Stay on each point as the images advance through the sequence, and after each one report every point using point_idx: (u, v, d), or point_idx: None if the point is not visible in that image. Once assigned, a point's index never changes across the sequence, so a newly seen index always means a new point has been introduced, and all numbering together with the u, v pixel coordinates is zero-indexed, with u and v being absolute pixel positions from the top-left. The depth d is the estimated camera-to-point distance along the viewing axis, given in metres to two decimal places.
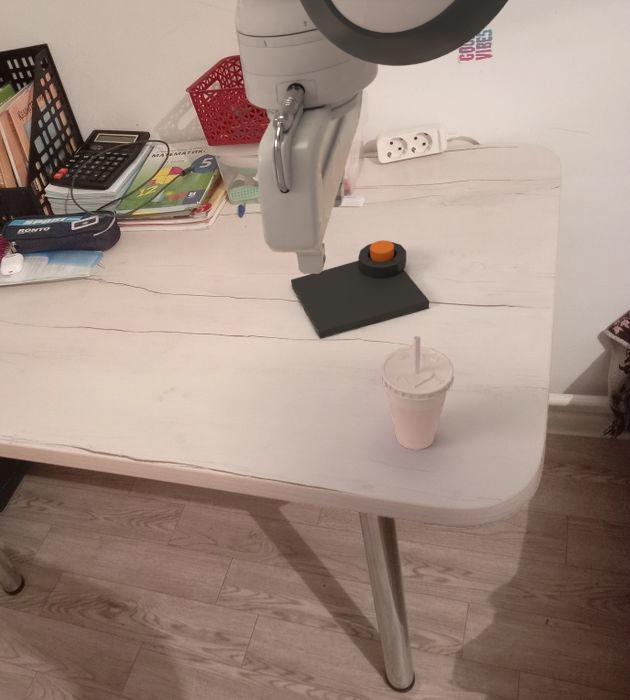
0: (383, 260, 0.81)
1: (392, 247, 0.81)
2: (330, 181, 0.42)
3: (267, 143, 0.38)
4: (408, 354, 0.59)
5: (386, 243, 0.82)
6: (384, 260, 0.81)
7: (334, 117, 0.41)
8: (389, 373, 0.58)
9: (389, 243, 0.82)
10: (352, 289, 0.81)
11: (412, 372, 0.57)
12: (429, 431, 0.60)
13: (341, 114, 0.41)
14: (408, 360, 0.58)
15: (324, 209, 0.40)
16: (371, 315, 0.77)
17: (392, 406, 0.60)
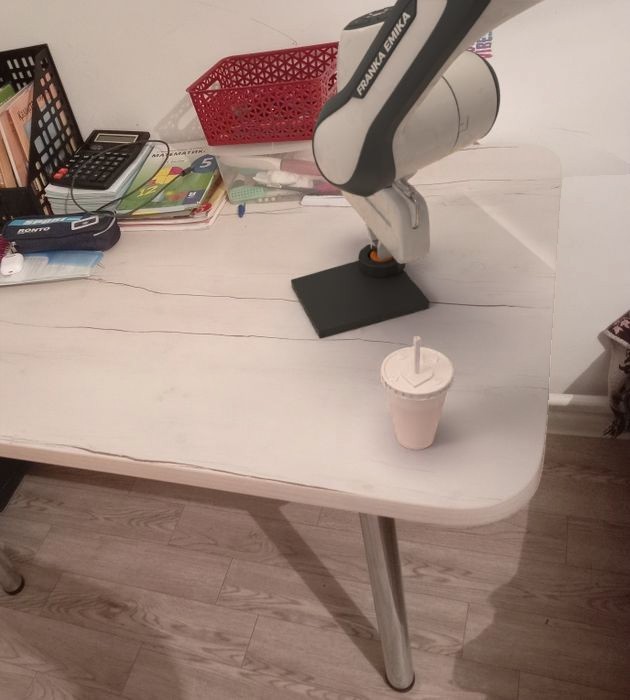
0: None
1: None
2: None
3: (400, 205, 0.68)
4: (408, 354, 0.59)
5: None
6: None
7: None
8: (389, 373, 0.58)
9: None
10: (352, 289, 0.81)
11: (412, 372, 0.57)
12: (429, 431, 0.60)
13: None
14: (408, 360, 0.58)
15: None
16: (371, 315, 0.77)
17: (392, 406, 0.60)
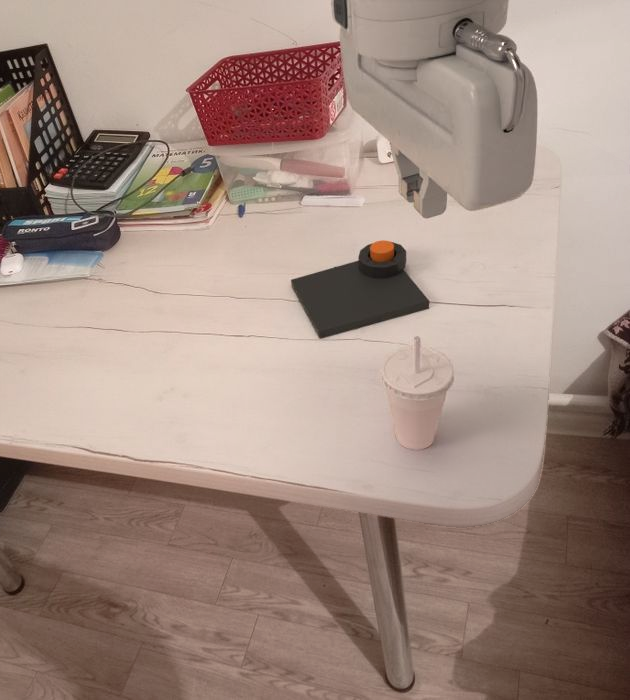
0: (383, 260, 0.81)
1: (392, 247, 0.81)
2: None
3: (477, 81, 0.33)
4: (408, 354, 0.59)
5: (386, 243, 0.82)
6: (384, 260, 0.81)
7: None
8: (389, 373, 0.58)
9: (389, 243, 0.82)
10: (352, 289, 0.81)
11: (412, 372, 0.57)
12: (429, 431, 0.60)
13: None
14: (408, 360, 0.58)
15: None
16: (371, 315, 0.77)
17: (392, 406, 0.60)
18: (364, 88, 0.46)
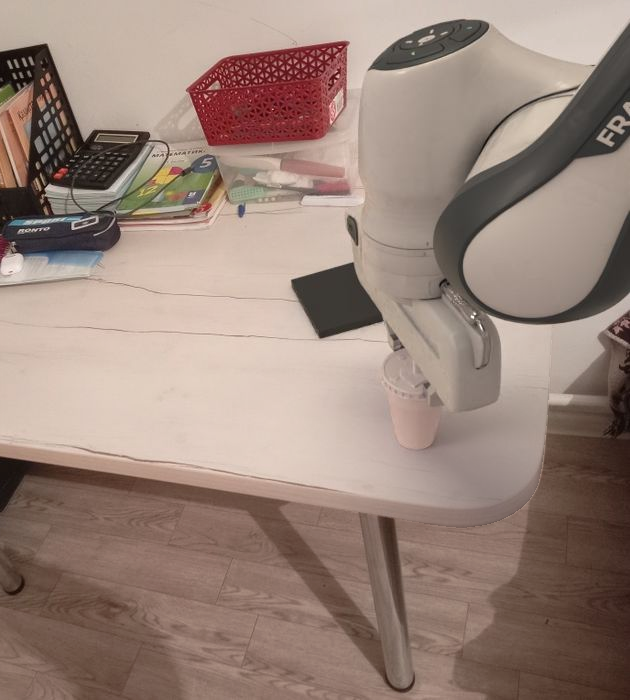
0: None
1: None
2: None
3: (456, 333, 0.44)
4: (408, 354, 0.59)
5: None
6: None
7: None
8: (389, 373, 0.58)
9: None
10: (352, 289, 0.81)
11: (412, 372, 0.57)
12: (429, 431, 0.60)
13: None
14: (408, 360, 0.58)
15: None
16: (371, 315, 0.77)
17: (392, 406, 0.60)
18: None
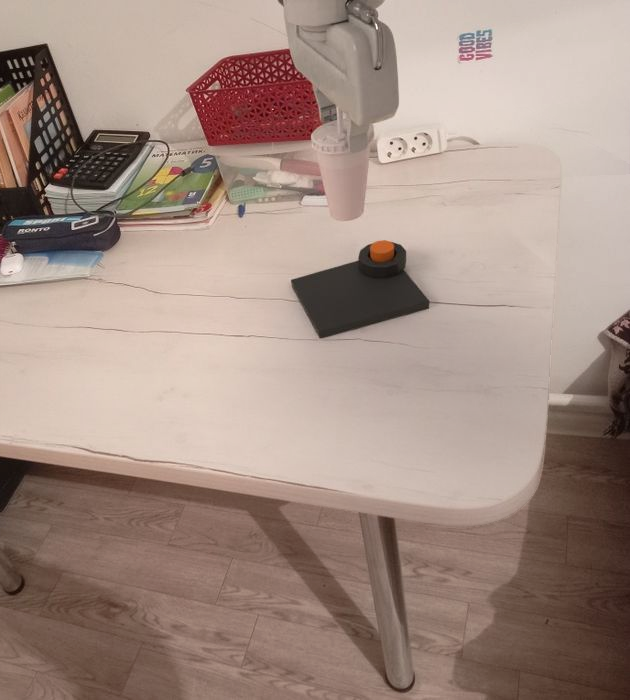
0: (383, 260, 0.81)
1: (392, 247, 0.81)
2: None
3: (356, 36, 0.51)
4: (336, 124, 0.66)
5: (386, 243, 0.82)
6: (384, 260, 0.81)
7: None
8: (318, 136, 0.65)
9: (389, 243, 0.82)
10: (352, 289, 0.81)
11: (337, 132, 0.64)
12: (356, 196, 0.67)
13: None
14: (335, 127, 0.65)
15: None
16: (371, 315, 0.77)
17: (322, 172, 0.66)
18: (301, 51, 0.64)
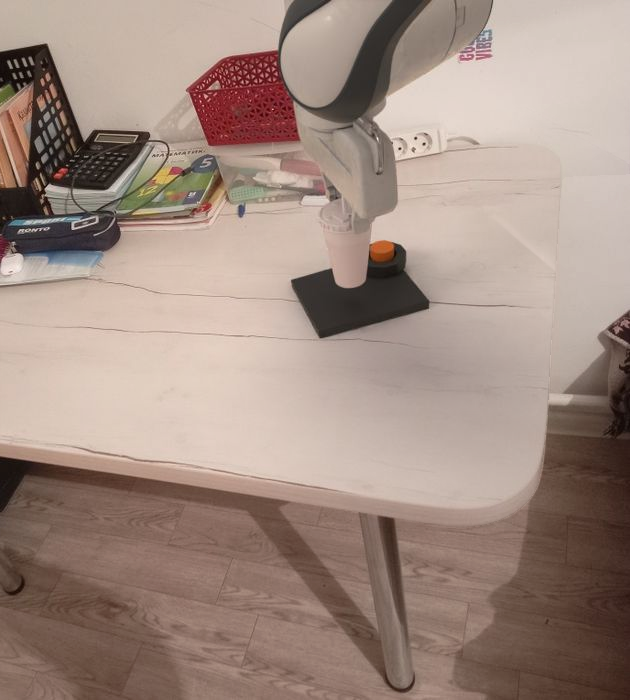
0: (383, 260, 0.81)
1: (392, 247, 0.81)
2: None
3: (360, 145, 0.57)
4: (341, 202, 0.72)
5: (386, 243, 0.82)
6: (384, 260, 0.81)
7: None
8: (324, 215, 0.71)
9: (389, 243, 0.82)
10: (352, 289, 0.81)
11: (342, 212, 0.70)
12: (359, 267, 0.73)
13: None
14: (340, 206, 0.71)
15: None
16: (371, 315, 0.77)
17: (328, 246, 0.73)
18: (309, 137, 0.71)
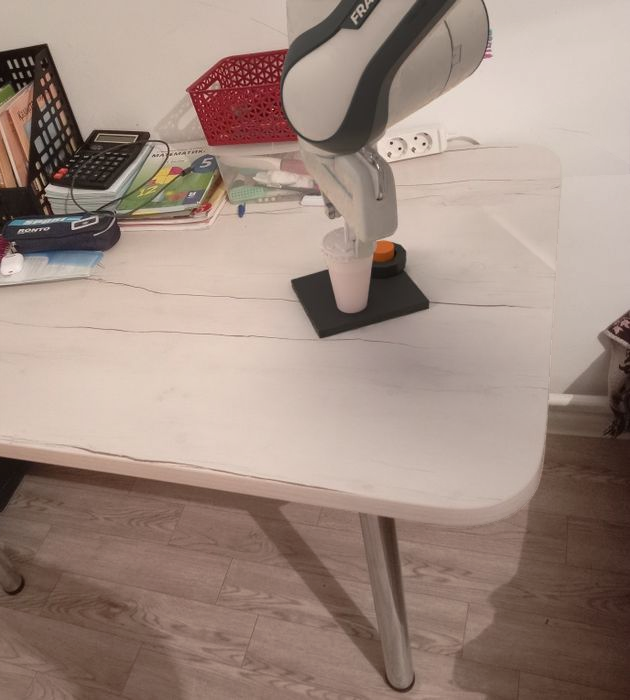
0: (383, 260, 0.81)
1: (392, 247, 0.81)
2: None
3: (361, 172, 0.59)
4: (343, 231, 0.75)
5: (386, 243, 0.82)
6: (384, 260, 0.81)
7: None
8: (327, 244, 0.74)
9: (389, 243, 0.82)
10: None
11: (344, 242, 0.73)
12: (360, 294, 0.76)
13: None
14: (342, 235, 0.74)
15: None
16: (371, 315, 0.77)
17: (331, 273, 0.75)
18: (311, 159, 0.72)
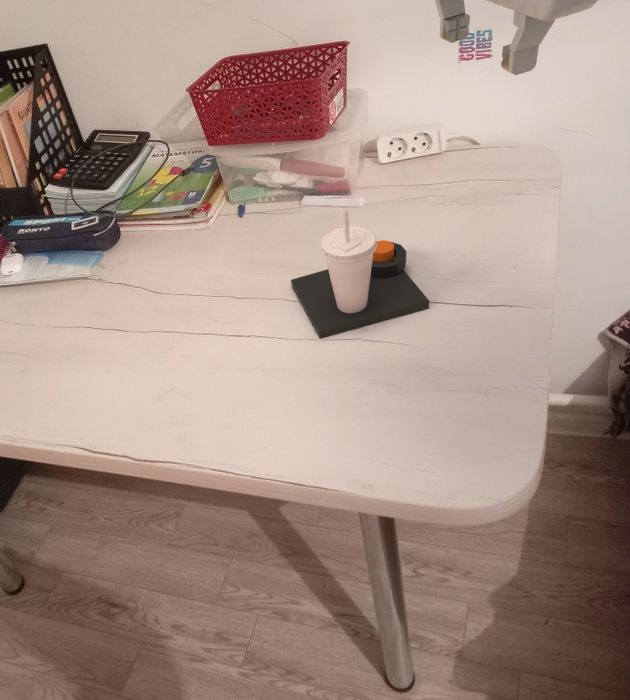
0: (383, 260, 0.81)
1: (392, 247, 0.81)
2: None
3: None
4: (343, 231, 0.75)
5: (386, 243, 0.82)
6: (384, 260, 0.81)
7: None
8: (327, 244, 0.74)
9: (389, 243, 0.82)
10: None
11: (344, 242, 0.73)
12: (360, 294, 0.76)
13: None
14: (342, 235, 0.74)
15: None
16: (371, 315, 0.77)
17: (330, 273, 0.75)
18: None
